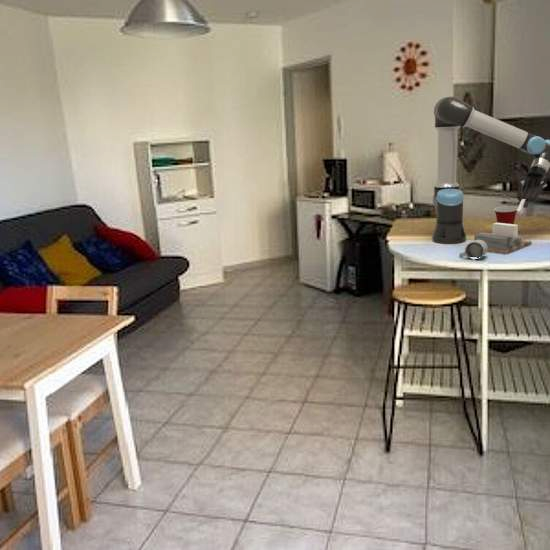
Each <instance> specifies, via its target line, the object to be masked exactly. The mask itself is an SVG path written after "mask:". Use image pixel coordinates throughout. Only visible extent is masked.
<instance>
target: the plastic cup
mask: <svg viewBox="0 0 550 550" xmlns="http://www.w3.org/2000/svg"><path fill="white" fill-rule="evenodd" d="M517 209H518V207H517V206H513V205H509V206H508V205H504V206H499V207H495V208H494V209H493V211H494V213H495V216H496V218H495V219H496V223H505V224H515V220H516V217H517V213H518V212H517Z"/></svg>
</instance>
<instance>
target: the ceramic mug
mask: <svg viewBox="0 0 550 550" xmlns="http://www.w3.org/2000/svg"><path fill="white" fill-rule="evenodd" d="M487 250H488V246H487V244H486V243H485V242H484V241H483V240H474V239H473V241H471V242H469V243H467V245H465V248H464V251H462V252H460V253H459V257H460V256H461V257H460V258H463V257H467V258H468V259H469V258H470V257H477V258H478V260H480V259H481V258H483V257H484V256H485V255H486V254H487V253H488V252H487ZM479 257H480V258H479Z"/></svg>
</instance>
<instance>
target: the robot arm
mask: <svg viewBox="0 0 550 550" xmlns="http://www.w3.org/2000/svg"><path fill="white" fill-rule="evenodd" d="M433 114H434V128H435V129H436V131H437V135H438V136H437V182H436V183H435V184H434V185H433V197H432V203H433V204H432V205H433V207H434V208H435V209H436V224H435V228H434V231H433V233H432V239H431V240H432V242H434V243H437V244H446V245H447V244H454V245H455V244H459V243H460V244H461V243H465V242H466V241H467V234H466V232H465V227H464V224H463V220H464V217H463V215H464V198H465V197H464V193H463V190H460V184H459V183H458V182H457V164H458V163H457V160H458V159H457V158H458V156H457V152H458V149H457V148H458V130H459V129H460V128H465V127H468V128H469V129H472V130H475V131H477V132H479V133H481V134H483V135H486V136H488V137H491V138H493V139H495V140H498V141H501V142H502V143H506V144H508V145H509V146H512V147H514V148H517V149H518V150H520V151H522V152H523V153H526V154H528V155H530V157H533V161H532V162H531V165H530V168H529V169H528V172H527V174H526V177H525V178H523V180H518V181H517V184H518V187H517V192H516V193H517V194H516V199H517V200H518V202H517V206H518V207H517V208H518V209H517V212H516V213H517V214H518V215H523V213H524V210H525V209H527V208H528V206H529V204H530V203H531V202H535V201H536V200H537V198H538V197H539V196H540V195H541V193H542V192H543V190H544V189H546V188H547V187H548V184H547V182H546V181H544V180H545V178H546V176H547V173H548V171H549V169H550V139H544V138H543V137H541V136H537V135H535V134H532V133H530V132H527V131H526V130H523V129H521V128H518V127H516V126H515V125H512V124H508V123H507V122H504V121H503V120H502V121H501V120H500V119H497V118H495V117H493V116H490V115H487V114H485V113H483V112H480V111H478V110H476V109H475V108H474V106H472V105H470V104H468V103H467V102H465V101H463V100H461V99H460V98H458V97H456V96H445V97H443V98H440V99H439V100H438V101H437V103H435V105H434V108H433ZM524 185H525V186H524Z"/></svg>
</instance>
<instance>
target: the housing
mask: <svg viewBox="0 0 550 550" xmlns="http://www.w3.org/2000/svg"><path fill="white" fill-rule="evenodd" d="M474 240H483V241H484V242H485V243H486V244H487V246H488V250H487V252H486V253H492V252H493V254H499V253H502V254H501V255H506V254H507V255H509V254H512V253H514V252H517V251H519V250H521V249H524V248H526V247H528V246H532V240H526V239H522V236H518V237H517V238H514V239H513V236H507V235H498V234H492V233H487V232H479V233H476V234H474V236H473V241H474ZM511 252H512V253H511ZM508 253H509V254H508Z"/></svg>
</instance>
